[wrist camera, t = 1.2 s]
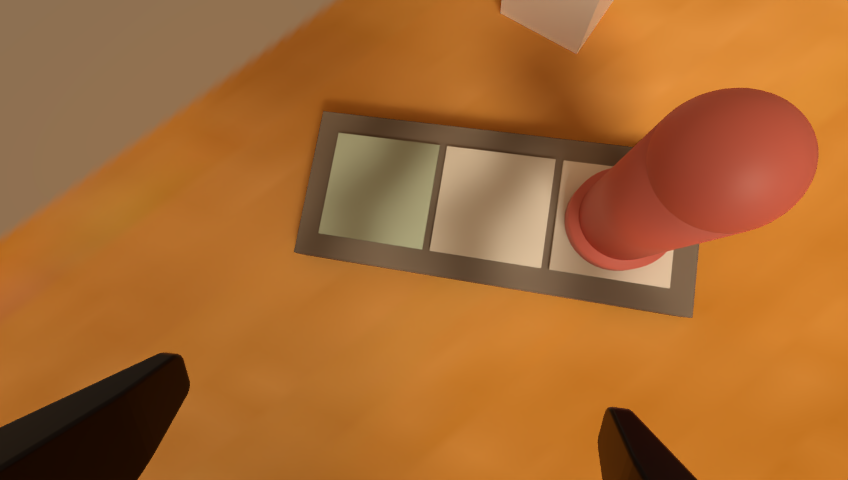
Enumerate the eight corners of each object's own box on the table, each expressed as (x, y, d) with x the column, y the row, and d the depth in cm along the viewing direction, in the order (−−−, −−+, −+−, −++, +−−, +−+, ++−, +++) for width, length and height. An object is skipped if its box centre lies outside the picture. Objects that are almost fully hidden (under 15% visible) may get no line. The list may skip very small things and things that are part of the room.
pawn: (688, 232, 20) (935, 153, 9) (607, 290, 20) (760, 279, 10) (622, 156, 21) (779, 4, 10) (544, 212, 21) (620, 119, 10)
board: (696, 162, 22) (709, 154, 21) (681, 316, 21) (694, 318, 20) (329, 118, 25) (322, 109, 23) (301, 254, 24) (292, 251, 22)
